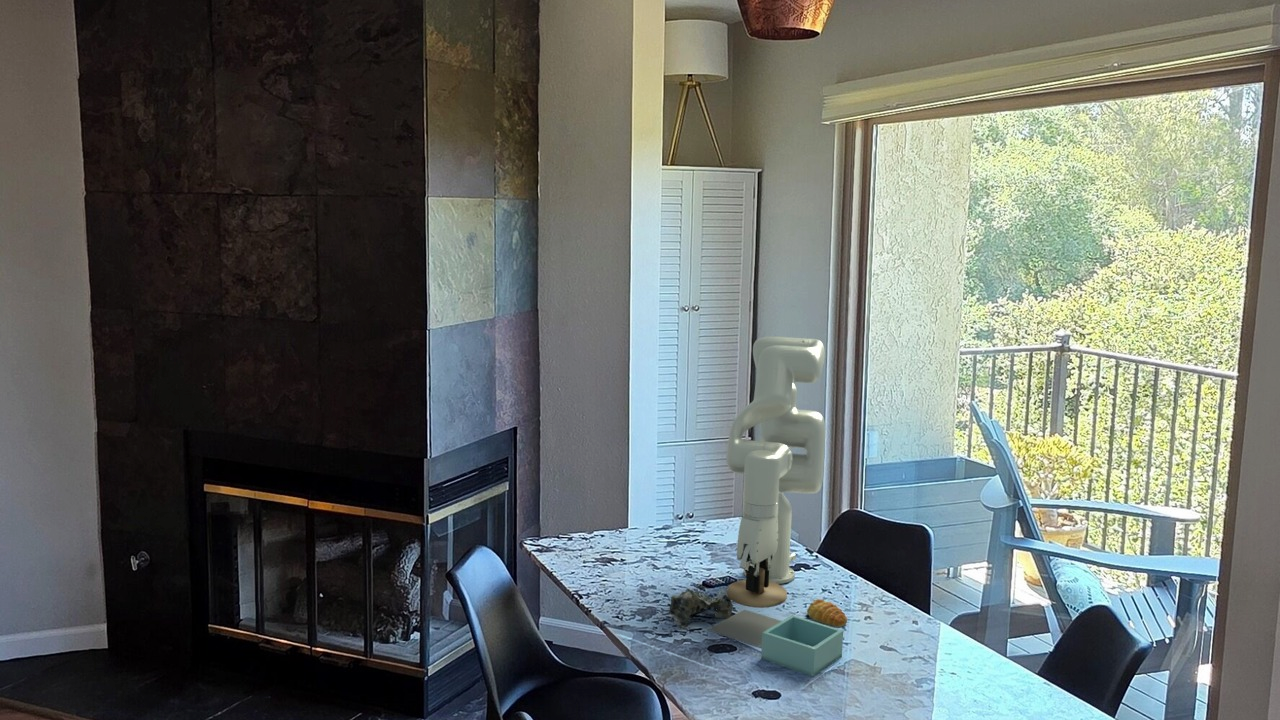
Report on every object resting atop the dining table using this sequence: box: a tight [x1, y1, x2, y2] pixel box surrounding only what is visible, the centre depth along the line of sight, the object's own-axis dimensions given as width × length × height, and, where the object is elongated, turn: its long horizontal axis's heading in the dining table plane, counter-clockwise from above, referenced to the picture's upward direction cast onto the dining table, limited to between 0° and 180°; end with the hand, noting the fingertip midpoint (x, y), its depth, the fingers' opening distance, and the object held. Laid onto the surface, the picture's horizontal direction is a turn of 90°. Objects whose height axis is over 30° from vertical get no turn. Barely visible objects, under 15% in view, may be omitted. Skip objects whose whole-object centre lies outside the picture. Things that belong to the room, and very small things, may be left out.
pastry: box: [806, 598, 848, 628], centre depth 231 cm, size 9×7×4 cm
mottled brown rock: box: [667, 587, 734, 629], centre depth 230 cm, size 12×11×15 cm
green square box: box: [760, 614, 844, 677], centre depth 211 cm, size 12×12×6 cm
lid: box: [726, 567, 788, 609], centre depth 224 cm, size 13×13×6 cm
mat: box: [706, 609, 782, 649], centre depth 225 cm, size 15×15×1 cm
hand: (757, 587), depth 225 cm, fingers closed on lid, 3 cm apart
